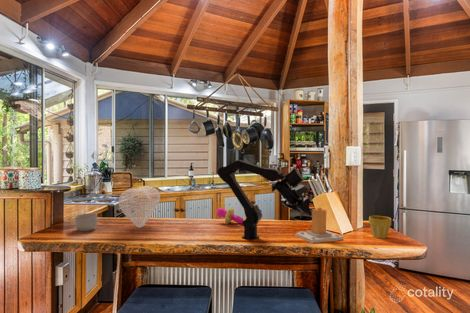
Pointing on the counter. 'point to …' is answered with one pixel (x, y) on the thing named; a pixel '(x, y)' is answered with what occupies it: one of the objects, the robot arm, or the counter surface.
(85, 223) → the teacup
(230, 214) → the toy
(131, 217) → the heart
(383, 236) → the plant pot
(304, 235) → the baseplate
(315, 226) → the column brick
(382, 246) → the counter surface
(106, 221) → the counter surface
